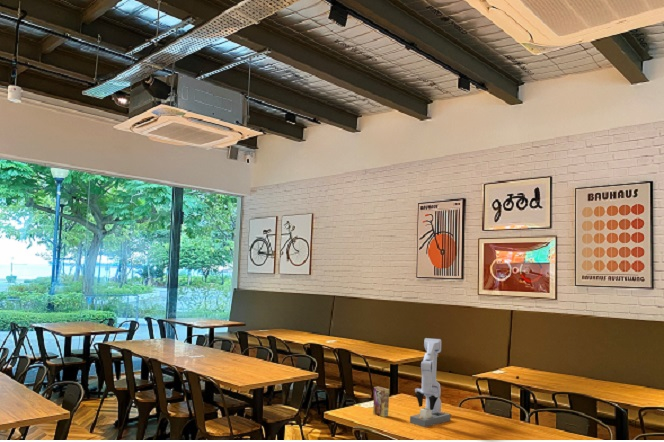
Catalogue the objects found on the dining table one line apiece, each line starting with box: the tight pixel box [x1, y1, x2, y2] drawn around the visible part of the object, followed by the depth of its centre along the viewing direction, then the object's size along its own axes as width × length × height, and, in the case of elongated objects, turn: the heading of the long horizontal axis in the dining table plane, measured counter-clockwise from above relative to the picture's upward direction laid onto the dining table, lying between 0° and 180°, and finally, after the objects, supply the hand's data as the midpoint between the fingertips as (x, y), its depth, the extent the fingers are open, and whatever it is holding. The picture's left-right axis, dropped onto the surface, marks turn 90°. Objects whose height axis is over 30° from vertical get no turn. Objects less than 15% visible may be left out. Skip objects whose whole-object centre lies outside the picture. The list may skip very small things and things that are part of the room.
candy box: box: [372, 386, 390, 418], centre depth 300 cm, size 9×4×15 cm, turn 39°
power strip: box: [409, 410, 452, 428], centre depth 290 cm, size 24×10×4 cm, turn 132°
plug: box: [419, 407, 432, 419], centre depth 286 cm, size 5×4×7 cm
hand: (426, 407), depth 287 cm, fingers open, 7 cm apart
